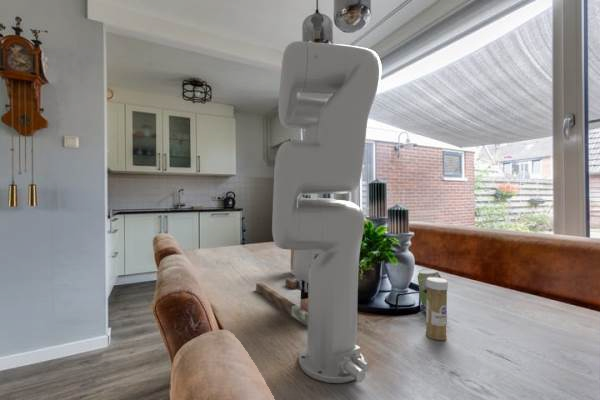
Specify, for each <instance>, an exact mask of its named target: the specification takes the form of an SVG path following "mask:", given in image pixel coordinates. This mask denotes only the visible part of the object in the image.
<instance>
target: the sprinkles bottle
mask: <svg viewBox="0 0 600 400" xmlns="http://www.w3.org/2000/svg"><path fill="white" fill-rule="evenodd" d="M448 282H449V281H448V280H447V279H445V278H437V277H429V278H427V279H426V286H427V299H426V312H425V322H426V323H425V324H426V325H425V336H427V337H428V338H429V339H432V340H435V341H444V340H447V323H448V321H447V320H448V319H447V318H448V311H447V310H448V309H447V308H448V307H447V306H448V304H447V303H448V302H447V301H448V299H447V298H448V297H447V296H448V293H447V292H448V287H449V283H448Z"/></svg>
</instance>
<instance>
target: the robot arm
mask: <svg viewBox="0 0 600 400" xmlns="http://www.w3.org/2000/svg"><path fill="white" fill-rule="evenodd" d="M282 56H283V57H282V60H281V69H280V70H281V71H280V72H281V73H280V83H279V93H278V108H277V109H278V118H279V122H280V124H281V126H282V127H284V128H285V129H286V128H288V129H302V130H304V131H303V139H294V140H293V139H291V140H287V141H285V142H283V143H281V145H279V148H278V149H277V152H276V156H275V160H274V161H275V162H274V171H273V191H272V192H273V194H272V216H271V217H272V219H271V220H272V221H271V222H272V223H271V224H272V225H271V234H272V238H273V242H274V243H275V246H277V247H278V248H280V249H282V250H286V251H287V250H290V251H291V250H294V260H293V274H294V275H293V274H292V275H293V276H294V277H295V280H297V281H298V282H299V284H300V300H301V299H306V298H308V327H307V338H306V339H307V345H306V346H305V347H303V348H302V349H301V350H300V353H299V354H298V356H299V357H298V363H299V364H298V365H299V366H300V368H301V370H302V371H303V372H304V373H305V374H306V375H308V377H311V378H313V379H315V380H316V381H317V380H318V381H320V382H325V383H332V384H342V383H343V384H344V383H348V382H351V381H354V380H355V381H356V382H358V383H362V382H363V381H364V379H365V377H366V372H368V371H369V369H370V368H371V367H370V364H369V363H368V362H367V361H365V357H364V355H363V354H362V352H361V348H362V347H360V346H359V345H357V344H358V343H357V342H358V301H359V299H358V295H359V293H358V291H359V290H358V289H359V266H360V265H359V264H360V263H359V262H360V254H361V253H360V252H361V246H362V241H363V235H364V230H365V216H364V212H363V211H362V209H361V207H360V206H359V205H357V204H355V202H352V201H350V193H352V192H354V191H356V189H357V188H358V186H359V185H360V181H361V178H362V172H363V166H364V165H363V164H364V156H365V147H366V139H367V138H366V137H367V128H368V127H367V126H368V120H369V115H370V112H371V109H372V106H373V104H374V101H375V99H376V96H377V94H378V91H379V87H380V83H381V78H382V63H381V60H380V57H379V55H378V54H377V53H376V51H374V50H372V49H369V48H366V47H361V46H356V45H355V46H354V45H347V44H339V43H338V44H337V43H324V42H313V41H302V40H298V41H297V40H296V41H292V42H290V43H289V44H288V45H286V47H285V49H284V52H283V55H282ZM303 194H307V195H310V194H313V195H314V194H318V195H321V194H323V195H335V198H329V197H328V198H327V197H326V198H323V197H321V198H320V197H315V198H313V197H304V198H300V197H301V196H302V195H303Z"/></svg>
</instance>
